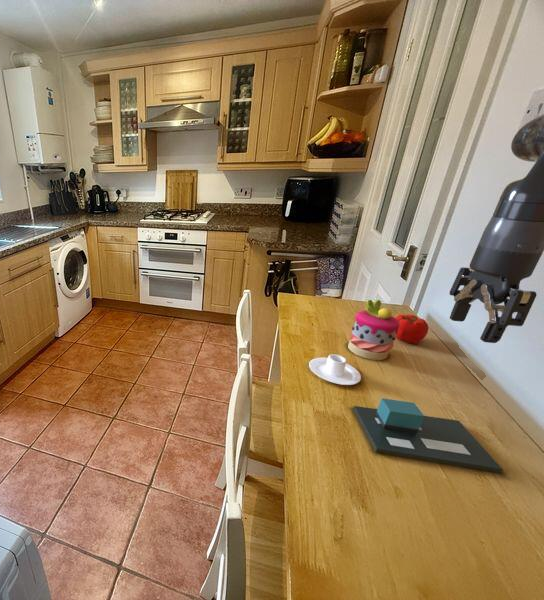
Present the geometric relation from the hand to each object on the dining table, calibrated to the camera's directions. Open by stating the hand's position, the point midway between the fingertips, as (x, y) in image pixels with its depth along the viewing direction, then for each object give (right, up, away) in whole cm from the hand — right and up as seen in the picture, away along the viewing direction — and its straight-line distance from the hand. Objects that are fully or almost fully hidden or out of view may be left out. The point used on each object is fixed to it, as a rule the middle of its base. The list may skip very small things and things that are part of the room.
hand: (471, 330), depth 60 cm
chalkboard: (-6, -22, +4) cm, 23 cm away
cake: (+4, -9, +34) cm, 36 cm away
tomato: (+20, -7, +40) cm, 46 cm away
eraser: (-9, -20, +6) cm, 23 cm away
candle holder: (-11, -14, +24) cm, 30 cm away
